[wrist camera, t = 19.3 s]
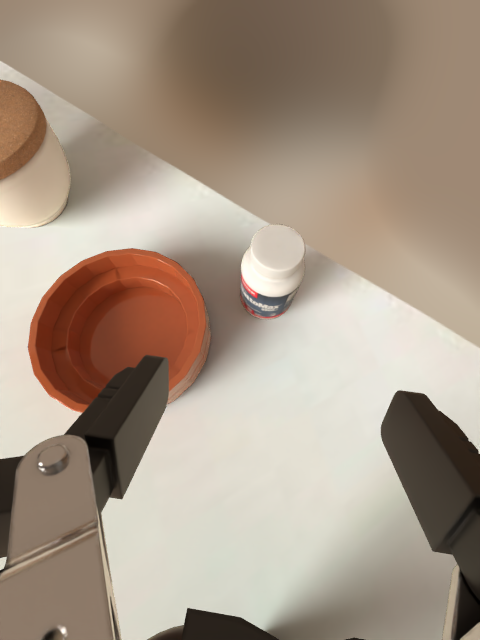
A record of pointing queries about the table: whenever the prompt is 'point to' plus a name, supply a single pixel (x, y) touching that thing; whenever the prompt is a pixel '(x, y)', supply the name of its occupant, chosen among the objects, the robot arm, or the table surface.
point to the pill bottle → (272, 271)
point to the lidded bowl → (29, 162)
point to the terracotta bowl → (117, 325)
